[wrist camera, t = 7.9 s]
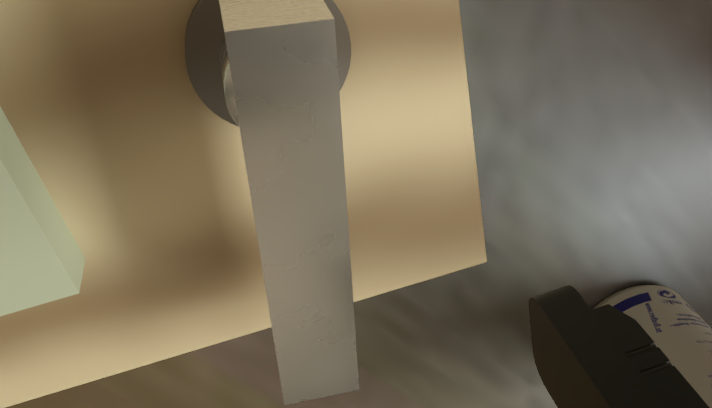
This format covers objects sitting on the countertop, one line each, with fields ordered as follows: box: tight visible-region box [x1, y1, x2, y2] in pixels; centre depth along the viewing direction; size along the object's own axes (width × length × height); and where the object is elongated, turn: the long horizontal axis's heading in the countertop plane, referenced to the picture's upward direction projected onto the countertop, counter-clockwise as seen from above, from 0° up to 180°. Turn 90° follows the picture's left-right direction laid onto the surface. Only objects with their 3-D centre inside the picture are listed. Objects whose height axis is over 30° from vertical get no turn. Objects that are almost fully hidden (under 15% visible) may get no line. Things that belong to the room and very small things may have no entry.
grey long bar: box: [219, 0, 359, 405], centre depth 16 cm, size 2×10×4 cm, turn 3°
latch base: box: [0, 0, 487, 408], centre depth 17 cm, size 18×21×4 cm
